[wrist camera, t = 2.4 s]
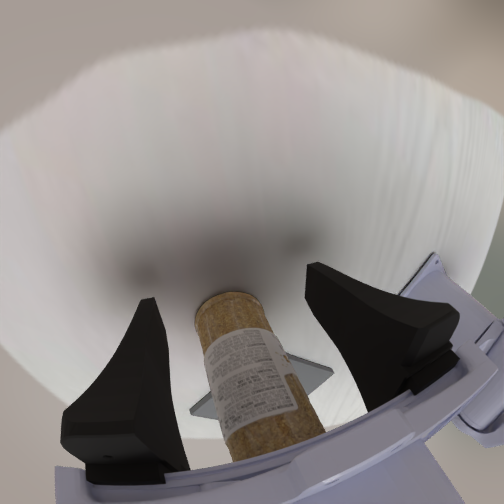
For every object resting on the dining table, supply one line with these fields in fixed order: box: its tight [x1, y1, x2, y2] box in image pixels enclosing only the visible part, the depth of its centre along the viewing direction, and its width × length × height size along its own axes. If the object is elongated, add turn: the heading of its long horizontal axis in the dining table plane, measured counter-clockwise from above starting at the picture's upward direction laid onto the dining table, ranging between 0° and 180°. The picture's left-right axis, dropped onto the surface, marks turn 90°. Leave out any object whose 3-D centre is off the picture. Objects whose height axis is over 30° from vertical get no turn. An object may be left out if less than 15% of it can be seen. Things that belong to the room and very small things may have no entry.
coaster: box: [190, 353, 334, 420], centre depth 23 cm, size 10×10×1 cm
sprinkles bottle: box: [195, 292, 326, 462], centre depth 12 cm, size 5×5×14 cm
